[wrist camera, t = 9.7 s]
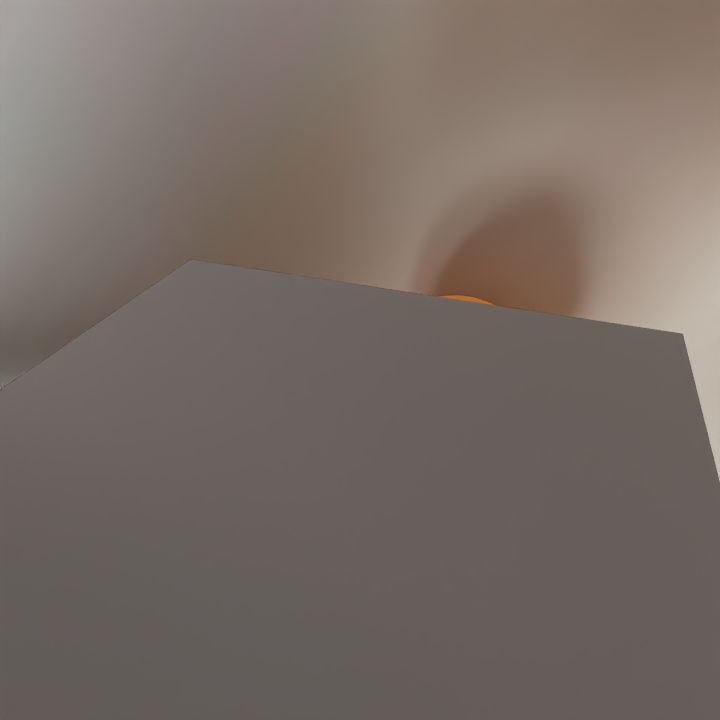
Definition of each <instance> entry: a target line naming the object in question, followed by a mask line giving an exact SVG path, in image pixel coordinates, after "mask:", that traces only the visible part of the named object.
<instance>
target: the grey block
mask: <svg viewBox="0 0 720 720" xmlns="http://www.w3.org/2000/svg"><path fill="white" fill-rule="evenodd" d="M0 720H720V481H719V477H718V473H717V469H716V465H715V461H714V457H713V453H712V449H711V445H710V441H709V437H708V433H707V429H706V425H705V421H704V417H703V413H702V409H701V405H700V401H699V397H698V393H697V389H696V385H695V381H694V377H693V373H692V369H691V365H690V361H689V357H688V353H687V349H686V345H685V341H684V337H683V334H680V333H674V332H667V331H661V330H654V329H647V328H641V327H634V326H628V325H621V324H615V323H608V322H601V321H595V320H588V319H582V318H575V317H568V316H562V315H555V314H549V313H542V312H535V311H529V310H522V309H516V308H509V307H503V306H496V305H489V304H483V303H476V302H470V301H463V300H456V299H450V298H443V297H437V296H430V295H423V294H417V293H410V292H404V291H397V290H391V289H384V288H377V287H371V286H364V285H358V284H351V283H344V282H338V281H331V280H325V279H318V278H311V277H305V276H298V275H292V274H285V273H279V272H272V271H265V270H259V269H252V268H246V267H239V266H232V265H226V264H219V263H213V262H206V261H200V260H193V259H191V260H189V261H188V262H186V263H185V264H183V265H182V266H180V267H179V268H177V269H176V270H175V271H173V272H172V273H170V274H169V275H167V276H166V277H164V278H163V279H161V280H160V281H159V282H157V283H156V284H154V285H153V286H151V287H150V288H148V289H147V290H145V291H144V292H142V293H141V294H140V295H138V296H137V297H135V298H134V299H132V300H131V301H129V302H128V303H126V304H125V305H123V306H122V307H121V308H119V309H118V310H116V311H115V312H113V313H112V314H110V315H109V316H107V317H106V318H104V319H103V320H102V321H100V322H99V323H97V324H96V325H94V326H93V327H91V328H90V329H88V330H87V331H85V332H84V333H83V334H81V335H80V336H78V337H77V338H75V339H74V340H72V341H71V342H69V343H68V344H66V345H65V346H64V347H62V348H61V349H59V350H58V351H56V352H55V353H53V354H52V355H50V356H49V357H48V358H46V359H45V360H43V361H42V362H40V363H39V364H37V365H36V366H34V367H33V368H31V369H30V370H29V371H27V372H26V373H24V374H23V375H21V376H20V377H18V378H17V379H15V380H14V381H12V382H11V383H10V384H8V385H7V386H5V387H4V388H2V389H1V390H0Z"/></svg>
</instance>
